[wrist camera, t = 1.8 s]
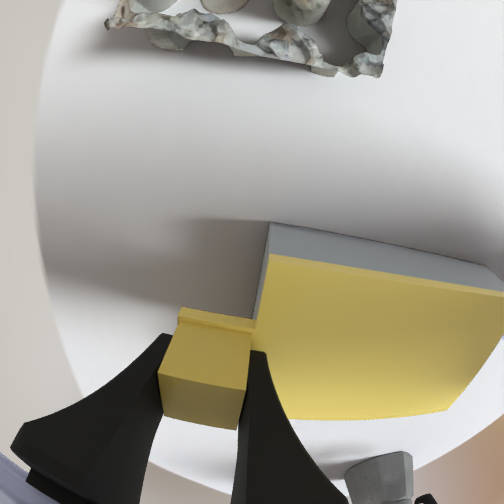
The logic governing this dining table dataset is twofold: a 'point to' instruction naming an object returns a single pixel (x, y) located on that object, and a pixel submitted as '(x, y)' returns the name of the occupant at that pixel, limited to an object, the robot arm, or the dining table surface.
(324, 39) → the dining table surface
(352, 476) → the coffeepot
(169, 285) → the dining table surface
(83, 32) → the dining table surface
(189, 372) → the lid
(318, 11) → the egg carton
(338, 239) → the tub
